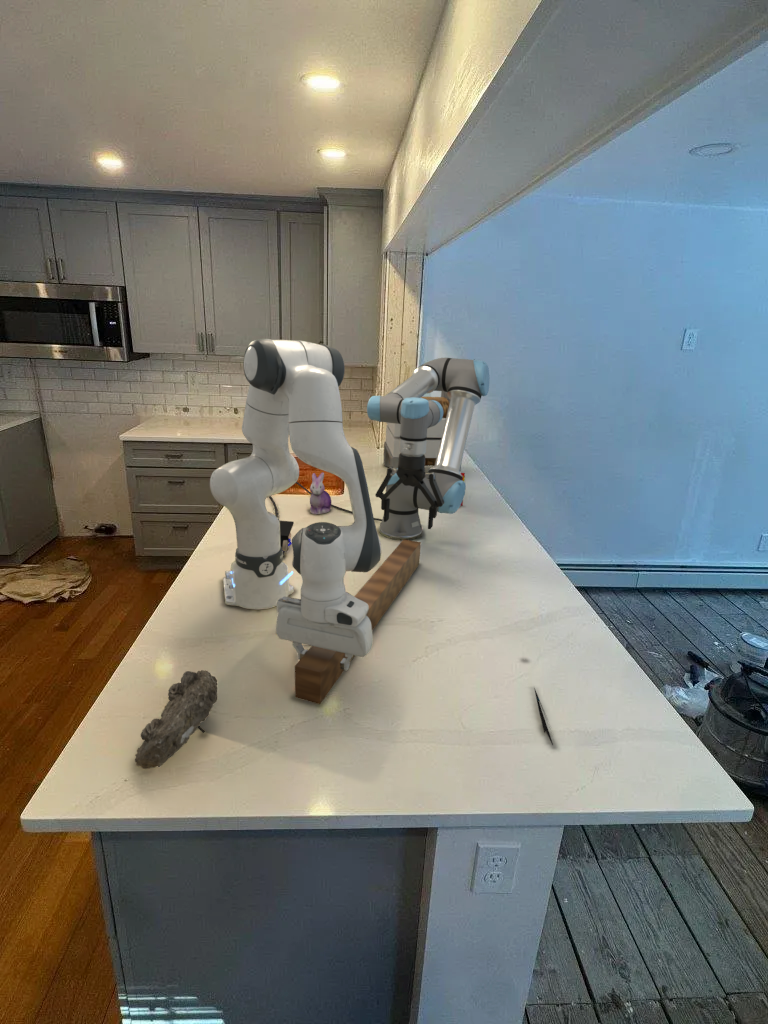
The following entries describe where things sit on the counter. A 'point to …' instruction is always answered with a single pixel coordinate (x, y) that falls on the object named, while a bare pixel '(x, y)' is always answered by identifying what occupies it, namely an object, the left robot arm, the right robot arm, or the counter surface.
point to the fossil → (178, 718)
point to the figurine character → (285, 534)
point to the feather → (542, 717)
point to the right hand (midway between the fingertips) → (407, 524)
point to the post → (379, 592)
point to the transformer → (431, 442)
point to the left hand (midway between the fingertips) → (323, 663)
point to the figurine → (319, 496)
